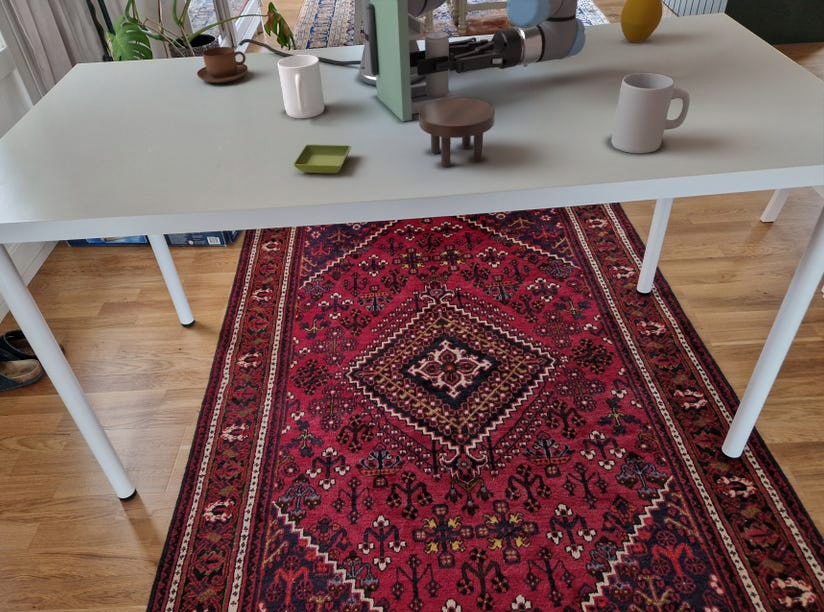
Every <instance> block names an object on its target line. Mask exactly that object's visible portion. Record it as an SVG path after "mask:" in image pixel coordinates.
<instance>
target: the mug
mask: <svg viewBox="0 0 824 612" xmlns="http://www.w3.org/2000/svg"><path fill="white" fill-rule="evenodd" d="M674 85H675V81H674V79H672V78H671V77H669V76H667V75H664V74H660V73H655V72H654V73H653V72H637V73H632V74H627V75H626V76H624V77H623V78H622V81H621V84H620V90H619V96H618V102H617V107H616V113H615V118H614V119H615V120H614V125H613V128H612V129H613V130H612V134H611V141H610V142H611V144H612V146H613V147H614V148H615V149H617V150H619V151H621V152H625V153H630V154H648V153H653V152H655V151H657V150H658V149H659V148H661V146H662V141H663V136H664V132H665V131H669V130H673V129H677V128H679V127H680V126H682V124H683V123H684V122H685V120H686V117H687V116H688V111H689V109H690V93H688V91H687V90H685V89H683V88H676V87H675V86H674ZM676 99H680V100H681V101H682V108H681V111H680V113H679V115H678V117H676V118H675V119H667V118H668V114H669V109H670V106H671V102H672V100H676Z"/></svg>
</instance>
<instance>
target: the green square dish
mask: <svg viewBox="0 0 824 612" xmlns="http://www.w3.org/2000/svg"><path fill="white" fill-rule="evenodd" d="M351 149H352V146H351V145H345V144H344V145H343V144H342V145H341V144H309V143H308V144H306V145H304V146H303V148H302V150H301V152H300V153H299V154H298V155H297V158H296V159H295V160H294V162H293V166H294V167H295V168H296V169H297V170H299V171H301V172H302V173H307V174H309V173H310V174H311V173H312V174H338V173H339V172H340V170H341V168H342V166H343V164H344V162H345V161H346V159H347V157H348V155H349V153H350V151H351Z"/></svg>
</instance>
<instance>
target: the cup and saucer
mask: <svg viewBox="0 0 824 612" xmlns="http://www.w3.org/2000/svg"><path fill="white" fill-rule="evenodd" d="M237 55H241V57H242V60H241V61H237V59H236V57H237ZM202 57H203V62H204V67H202V68H200V69H199V70H198V71H197V72H196V75H197V77H198V78H199V79H200V80H201V81H204V82H207V83H214V84H217V83H218V84H220V83H221V84H222V83H228V82H233V81H236V80H238V79H240V78H243V77H244V76H245V75H246V74H247V72H248V65H246V64H245V63H246V58H247V57H246V54H245V53H244V52H243V51H242V50H241V51H239V50H238V51H235V49H234V48H233V47H231V46H215V47H211V48H207V49H205V50H204V51H203V52H202Z"/></svg>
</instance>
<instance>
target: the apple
mask: <svg viewBox="0 0 824 612" xmlns="http://www.w3.org/2000/svg"><path fill="white" fill-rule="evenodd" d="M663 7H664V5H663V1H662V0H626V1H625V3H624V5H623V7H622V9H621V14H620V26H621V32H622V34H623V37H624V38H625V40H626V41H627V42H628V43H638V42H639V43H640V42H645V41H646V40H647V39H649V38H650V37H651V35H653V33H654V32H655V31H656V29H657V28H658V27H659V24H660V23H661V21H662V17H663V9H664V8H663Z"/></svg>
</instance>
